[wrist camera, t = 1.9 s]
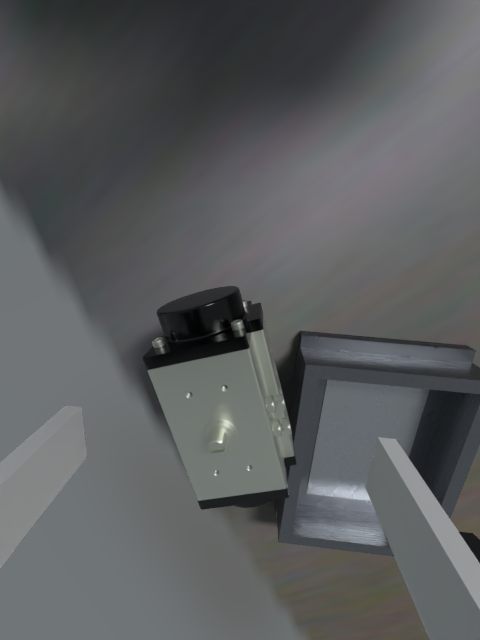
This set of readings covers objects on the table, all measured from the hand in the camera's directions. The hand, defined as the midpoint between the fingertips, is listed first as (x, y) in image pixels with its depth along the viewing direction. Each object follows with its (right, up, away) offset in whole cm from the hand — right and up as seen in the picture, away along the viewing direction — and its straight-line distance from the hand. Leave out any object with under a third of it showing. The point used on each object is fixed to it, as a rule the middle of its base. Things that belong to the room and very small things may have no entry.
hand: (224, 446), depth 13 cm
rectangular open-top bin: (+11, -5, +13) cm, 18 cm away
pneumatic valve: (+1, +4, +11) cm, 12 cm away
